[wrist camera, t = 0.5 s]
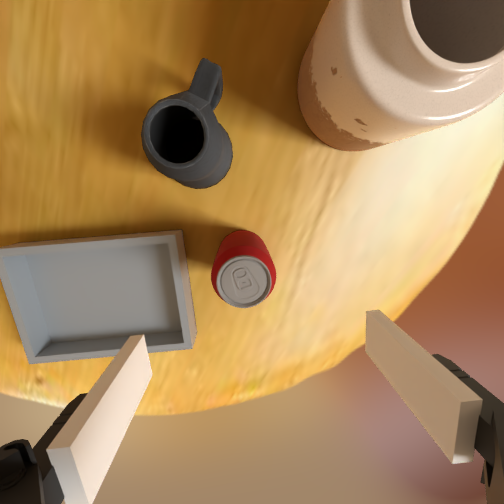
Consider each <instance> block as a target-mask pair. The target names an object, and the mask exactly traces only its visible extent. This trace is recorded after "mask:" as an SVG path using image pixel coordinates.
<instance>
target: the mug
mask: <svg viewBox="0 0 504 504" xmlns="http://www.w3.org/2000/svg"><path fill="white" fill-rule="evenodd" d="M222 91H223V79H222V71H221V67H220V66H219V65H217V64H215V63H212V62H210V61H209V60H208V59H205V58H203V59H202V60H201V61H200V63H199V65H198V68H197V70H196V72H195V75H194V78H193V80H192V83H191V86H190V89H189V90H188V91H184V92H181V93H178V94H174V95H171V96H168V97H166V98H164V99H161V100H159V101H158V102H157V103H156V104H154V105H153V106H152V107H151V108H150V109H149V111H148V113H147V115H146V117H145V119H144V121H143V125H142V132H141V137H142V144H143V149H144V151H145V153H146V155H147V158H148V160H149V161H150V162H151V164H152V165H153V166H154V167H155V168H156V169H157V170H158V171H159V172H161V173H162V174H164V175H165V176H167V177H169V178H172V179H175V180H176V181H178V182H179V183H181V184H183V185H184V186H187V187H191V188H194V189H202V188H208V187H211V186H213V185H216V184H217V183H218V182H220V181H221V180H222V179H223V178H224V177H225V176H226V174H227V172H228V171H229V169H230V166H231V162H232V158H233V152H232V144H231V141H230V138H229V136H228V133H227V132H226V131H225V129H224V128H223V127H222V126H221V124H220V123H218V121H217V119H216V116H215V114H214V112H213V110H214V109H215V108H216V106H217V105H218V103H219V101H220V99H221V97H222Z"/></svg>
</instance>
